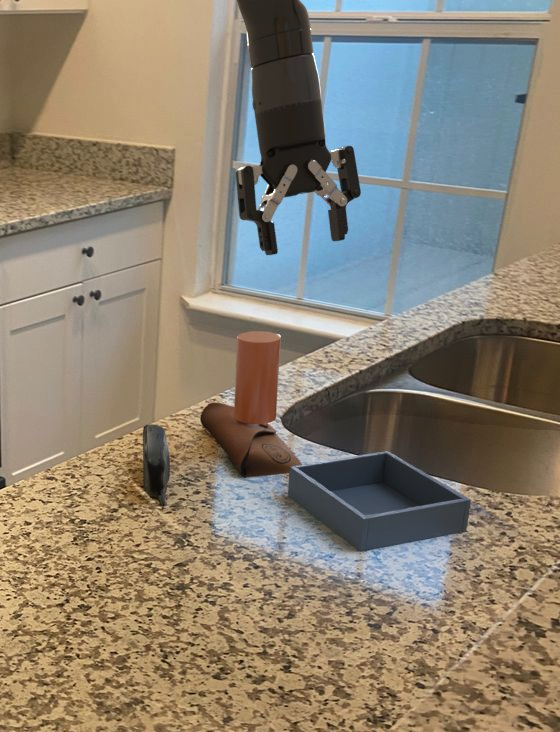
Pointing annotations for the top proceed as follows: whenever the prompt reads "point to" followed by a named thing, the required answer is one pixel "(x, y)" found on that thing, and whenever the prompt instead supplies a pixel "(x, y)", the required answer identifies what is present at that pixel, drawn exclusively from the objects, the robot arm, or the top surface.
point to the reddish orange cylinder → (256, 377)
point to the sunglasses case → (248, 443)
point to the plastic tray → (378, 500)
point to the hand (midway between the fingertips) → (305, 247)
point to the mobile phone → (155, 462)
